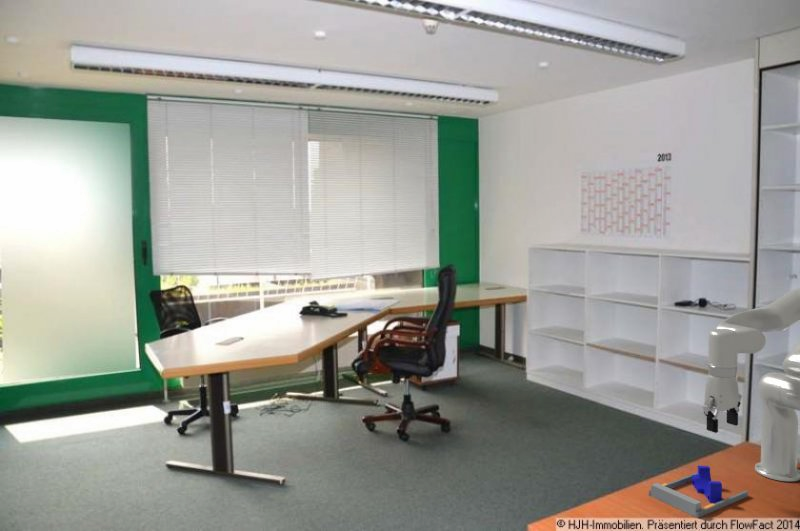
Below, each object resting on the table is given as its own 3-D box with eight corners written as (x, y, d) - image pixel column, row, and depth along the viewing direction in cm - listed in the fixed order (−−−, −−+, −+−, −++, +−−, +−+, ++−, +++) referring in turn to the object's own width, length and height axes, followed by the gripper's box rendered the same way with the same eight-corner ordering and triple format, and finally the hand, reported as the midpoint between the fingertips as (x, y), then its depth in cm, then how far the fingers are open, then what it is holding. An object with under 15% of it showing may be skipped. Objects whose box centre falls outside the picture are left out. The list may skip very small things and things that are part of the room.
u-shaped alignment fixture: (698, 476, 186) (698, 465, 186) (748, 496, 172) (748, 484, 172) (648, 495, 175) (648, 483, 175) (698, 518, 161) (698, 505, 161)
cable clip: (692, 484, 182) (692, 465, 181) (708, 485, 181) (708, 466, 180) (704, 503, 170) (704, 482, 169) (721, 504, 169) (722, 483, 168)
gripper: (728, 363, 183) (727, 418, 185) (692, 373, 175) (692, 430, 176) (752, 369, 177) (752, 425, 178) (716, 379, 168) (716, 438, 170)
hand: (722, 427), depth 177 cm, fingers open, 9 cm apart
